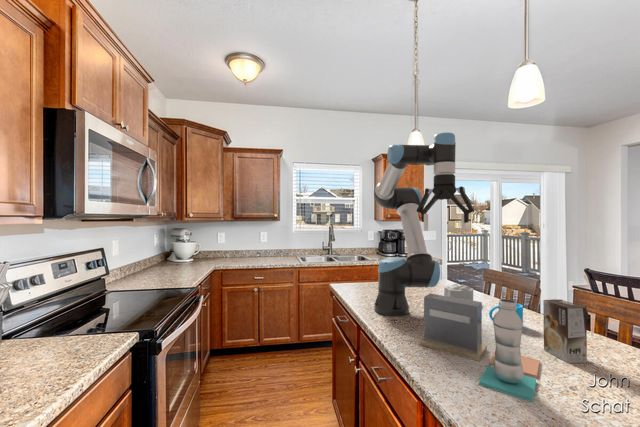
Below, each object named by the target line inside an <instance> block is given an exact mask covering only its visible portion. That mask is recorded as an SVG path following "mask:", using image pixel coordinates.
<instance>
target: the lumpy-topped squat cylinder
mask: <svg viewBox="0 0 640 427" xmlns="http://www.w3.org/2000/svg"><path fill="white" fill-rule="evenodd" d="M443 288H444V289H443V292H444V293H443V294H444V295H443V296H448V297H454V298H460V299H466V300H472V301H474V288H473V287H470V286H468V285H466V284H460V285H459V284H458V283H453V284H448V285H446V286H444V287H443Z"/></svg>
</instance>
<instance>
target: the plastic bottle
mask: <svg viewBox="0 0 640 427" xmlns="http://www.w3.org/2000/svg"><path fill="white" fill-rule="evenodd" d="M516 303H517V301H516V300H512V299H506V298H500V299H499V302H498V306H499V307H500V310H499V309H498V311H496V312H495V314H494V315H493V316H492V317H493V321H492V324H493V330H494V340H495V341H494V342H495V349H494V352H495V358H494V362H493V370H494V373H495V375H496V377H497V378H499V379H500V380H502V381H504V382H507V383H512V384H518V383H520V382H521V381H522V380H523V376H524V372H523V366H522V362H521V356H522V353H521V345H522V344H521V343H522V341H521V340H522V335H523V329H524V322H523V323H522V320H521V319H520V317H519V316H518V314H517V313H516V311H515V310H517V307H516Z"/></svg>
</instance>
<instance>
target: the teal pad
mask: <svg viewBox="0 0 640 427" xmlns="http://www.w3.org/2000/svg"><path fill="white" fill-rule="evenodd" d="M478 385H479V386H483V387H485V388H488V389H492V390H494V391H497V392H500V393H504V394H507V395H510V396H513V397H516V398H519V399H522V400H525V401H528V402H531V403H533V401H534V397H535V390H536V386H537V379H536V378H533V377H529V376H526V375H524V376H523V380H522V381H521V382H520V383H518V384H512V383H507V382H504V381H502V380H500V379H499V378H497V377H496V375H495V373H494V370H493V366H491V365H489V364H487V365H486V368H485V369H484V371H483V372H482V375H481V377H480V378H479V380H478Z"/></svg>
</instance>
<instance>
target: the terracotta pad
mask: <svg viewBox="0 0 640 427" xmlns="http://www.w3.org/2000/svg"><path fill="white" fill-rule="evenodd" d="M494 358H495V351H494V353H493V355H492V356H491V358H490V360H489V362H488V365H490V366H493V362H494ZM521 362H522V366H523V372H524V375H525V376H529V377H532V378H536V380H537V379H538V374H539V369H540V363H541V362H540V359H536V358H534V357H528V356H526V355H521Z"/></svg>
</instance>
